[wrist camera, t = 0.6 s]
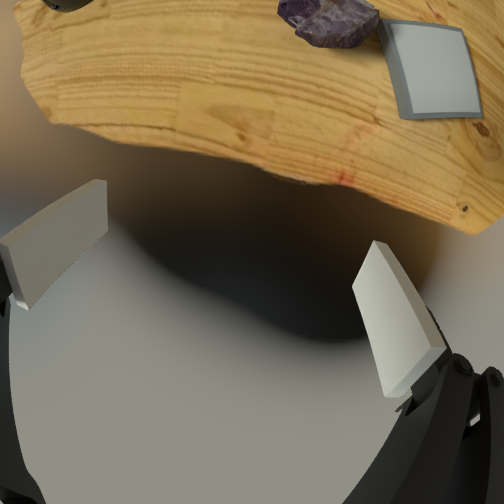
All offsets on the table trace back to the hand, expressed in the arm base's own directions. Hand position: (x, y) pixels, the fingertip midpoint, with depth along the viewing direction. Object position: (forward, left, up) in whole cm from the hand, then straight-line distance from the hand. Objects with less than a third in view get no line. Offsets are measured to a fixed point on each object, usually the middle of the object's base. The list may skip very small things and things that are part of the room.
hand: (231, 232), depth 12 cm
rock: (-15, +13, -25) cm, 32 cm away
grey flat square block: (-8, +27, -25) cm, 37 cm away
